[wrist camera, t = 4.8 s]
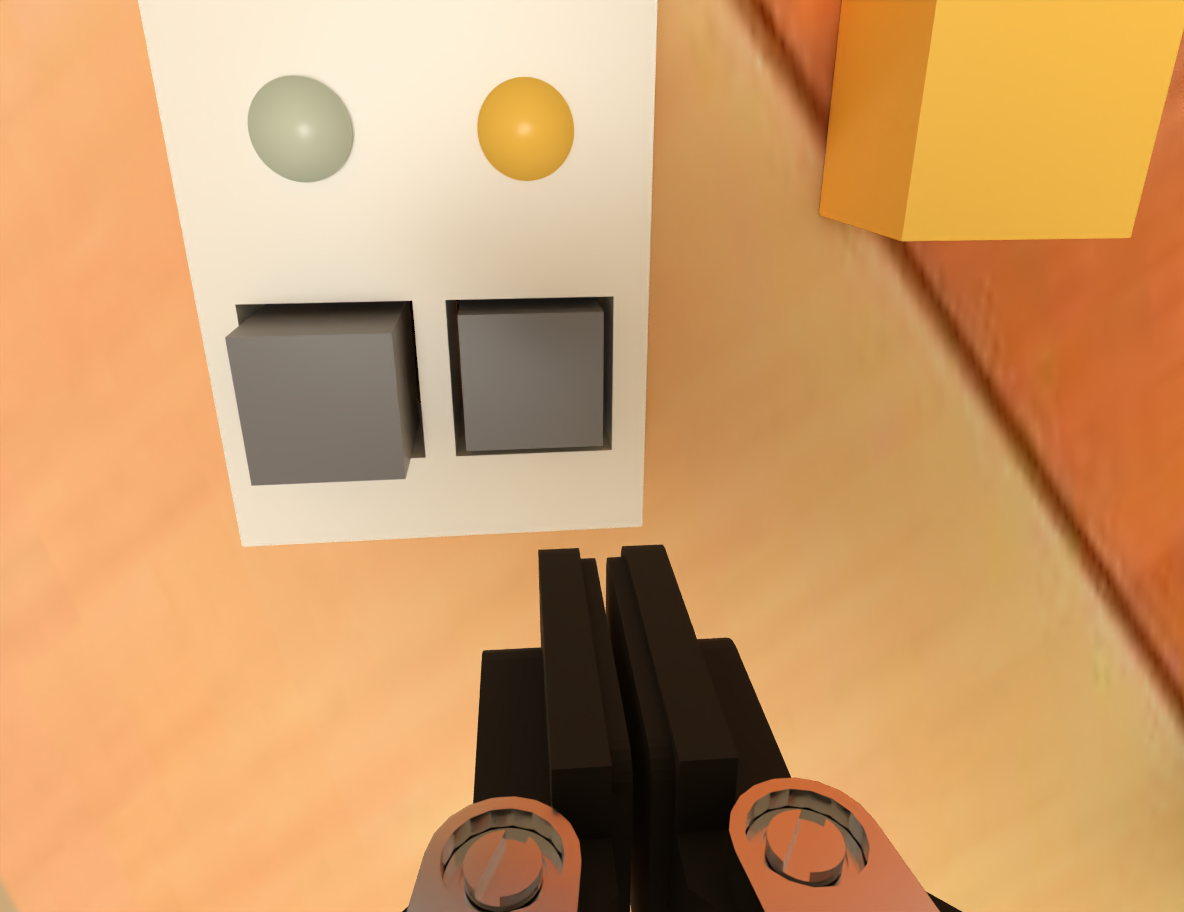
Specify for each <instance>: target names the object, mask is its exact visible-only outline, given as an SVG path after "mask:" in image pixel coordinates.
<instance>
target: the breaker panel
mask: <svg viewBox="0 0 1184 912" xmlns="http://www.w3.org/2000/svg"><path fill="white" fill-rule="evenodd" d="M657 1H658V0H138V3H139V8H140V13H141V18H142V24H143V29H144V34H145V39H146V45H147V50H148V55H149V60H150V66H151V71H152V76H153V81H154V87H155V92H156V97H157V102H158V108H159V113H160V118H161V123H162V129H163V134H164V139H165V144H166V150H167V155H168V160H169V165H170V171H171V176H172V181H173V186H174V192H175V197H176V202H177V207H178V213H179V218H180V223H181V228H182V234H183V239H184V244H185V249H186V255H187V260H188V265H189V270H190V276H191V281H192V286H193V291H194V297H195V302H196V307H197V312H198V318H199V323H200V328H201V333H202V339H203V344H204V349H205V354H206V360H207V365H208V370H209V375H210V381H211V386H212V391H213V396H214V402H215V407H216V412H217V417H218V423H219V428H220V433H221V438H222V444H223V449H224V454H225V459H226V465H227V470H228V475H229V480H230V486H231V491H232V496H233V501H234V507H235V512H236V517H237V522H238V528H239V533H240V538H241V543H242V547H246V546H266V545H286V544H306V543H325V542H345V541H365V540H385V539H405V538H424V537H444V536H464V535H484V534H503V533H523V532H543V531H563V530H583V529H602V528H622V527H642V518H643V484H644V449H645V415H646V380H647V346H648V311H649V277H650V242H651V208H652V173H653V139H654V104H655V70H656V35H657ZM561 297H596V298H597V300H598V302H599V304H600V306H601V308H602V310H603V311H604V351H603V446H586V447H561V448H536V449H511V450H486V451H466V439H465V423H464V408H463V401H462V388H461V372H460V356H459V341H458V325H457V310H456V300H468V299H515V298H561ZM375 301H412V303H413V314H414V326H415V338H416V349H417V361H418V373H419V385H420V396H421V403H418V406H419V418H420V422H419V427H418V431H417V435H416V439H415V443H414V447H413V451H412V455H411V459H410V463H409V468H408V472H407V476H406V479H395V480H372V481H349V482H326V483H303V484H280V485H256V486H251V480H250V475H249V469H248V463H247V458H246V452H245V447H244V441H243V435H242V430H241V424H240V419H239V413H238V408H237V402H236V396H235V391H234V385H233V380H232V374H231V369H230V363H229V357H228V352H227V346H226V341H225V337H226V336H227V335H229V334H230V333H231V332H232V331H233V330H235V329H236V328H237V327H238V326H239V325H241V324H242V323H243V322H244V321H245V320H247V319H248V318H249V317H250V316H251V315H252V314H254V313H255V312H256V311H257V310H258V309H260V308H261V307H262V306H263V305H264V304H282V303H329V302H375Z"/></svg>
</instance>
